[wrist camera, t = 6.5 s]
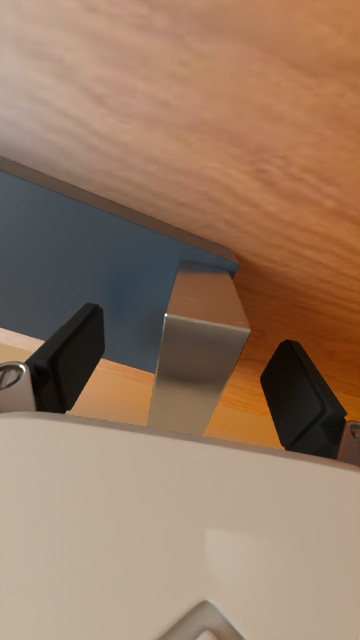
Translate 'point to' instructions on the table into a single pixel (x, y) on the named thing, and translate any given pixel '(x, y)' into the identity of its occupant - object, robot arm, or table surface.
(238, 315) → the silver metal slab
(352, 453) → the robot arm
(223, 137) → the table surface
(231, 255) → the tap base
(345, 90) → the table surface
